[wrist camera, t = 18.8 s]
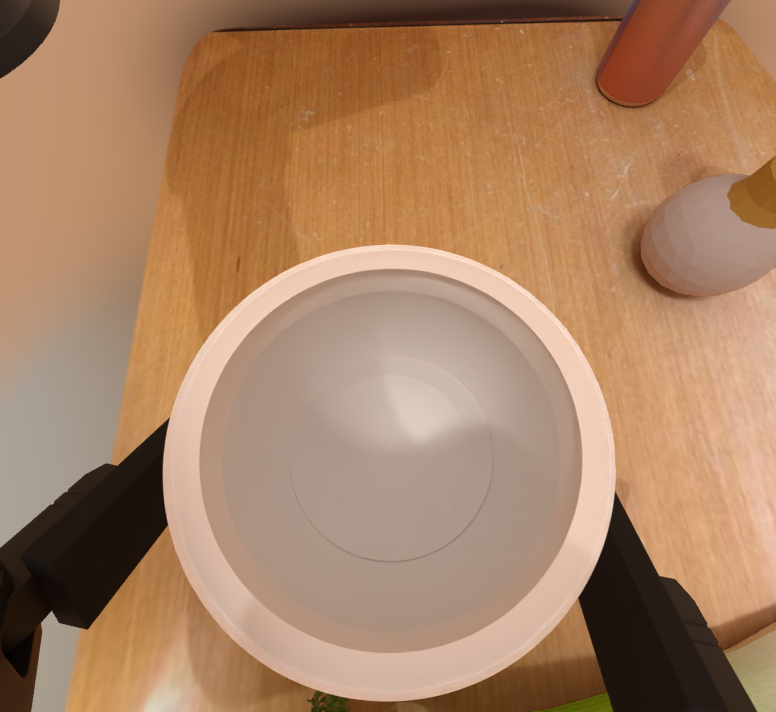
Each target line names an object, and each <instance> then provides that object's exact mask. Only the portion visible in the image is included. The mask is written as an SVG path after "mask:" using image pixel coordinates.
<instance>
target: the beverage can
mask: <svg viewBox="0 0 776 712" xmlns="http://www.w3.org/2000/svg"><path fill="white" fill-rule="evenodd" d="M730 1H731V0H632V2H631V4H630V6H629V8H628V10H627V12H626V14H625V16H624V17H623V19H622V21H621V23H620V25H619V27H618V29H617V31H616V33H615V35H614V37H613V39H612V41H611V43H610V45H609V47H608V48H607V50H606V52H605V54H604V56H603V58H602V60H601V62H600V64H599V66H598V70H597V82H598V86H599V89H600V90H601V92H602V93H603V94H604V95H605V96H606V97H607V98H608V99H609V100H611V101H613V102H615V103H617V104H620V105H624V106H641V105H645V104H647V103H649V102H651V101H653V100H655V99H656V98H658V97H660V96H661V95H662V94H663V93H664V92H665V90H666V89H667V88H668V86H669V85H670V83H671V82H672V81H673V79H674V78H675V77H676V75H677V74H678V72H679V71H680V70H681V68H682V67H683V66H684V64H685V63H686V62H687V60H688V59H689V57H690V56H691V55H692V53H693V52H694V51H695V49H696V48H697V46H698V45H699V44H700V42H701V41H702V40H703V38H704V37H705V35H706V34H707V33H708V31H709V30H710V29H711V27H712V26H713V24H714V23H715V22H716V20H717V19H718V18H719V16H720V15H721V13H722V12H723V11H724V9H725V8H726V6H727V5H728V4H729V2H730Z"/></svg>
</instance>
